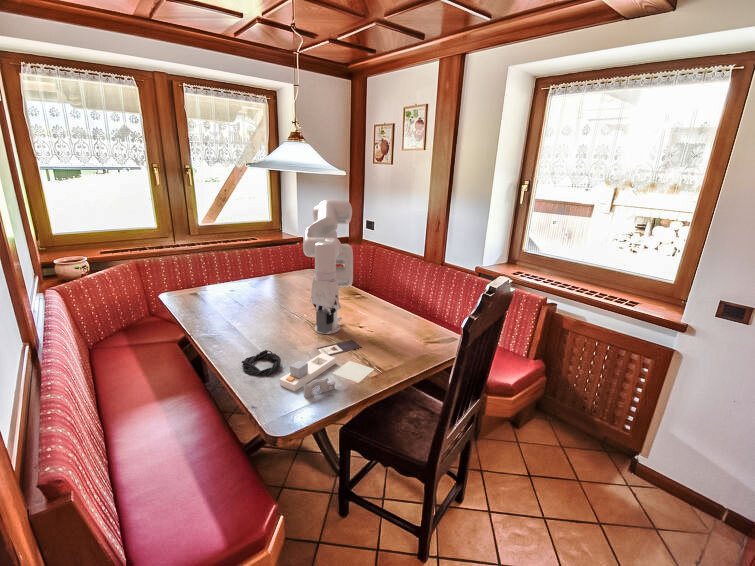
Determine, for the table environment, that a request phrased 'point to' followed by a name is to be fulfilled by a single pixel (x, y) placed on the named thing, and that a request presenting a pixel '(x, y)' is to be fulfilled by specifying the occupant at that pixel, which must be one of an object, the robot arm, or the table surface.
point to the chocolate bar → (339, 347)
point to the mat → (353, 371)
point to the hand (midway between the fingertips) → (325, 321)
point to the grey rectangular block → (323, 321)
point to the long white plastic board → (314, 369)
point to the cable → (271, 356)
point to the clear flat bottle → (323, 387)
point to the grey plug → (299, 369)
